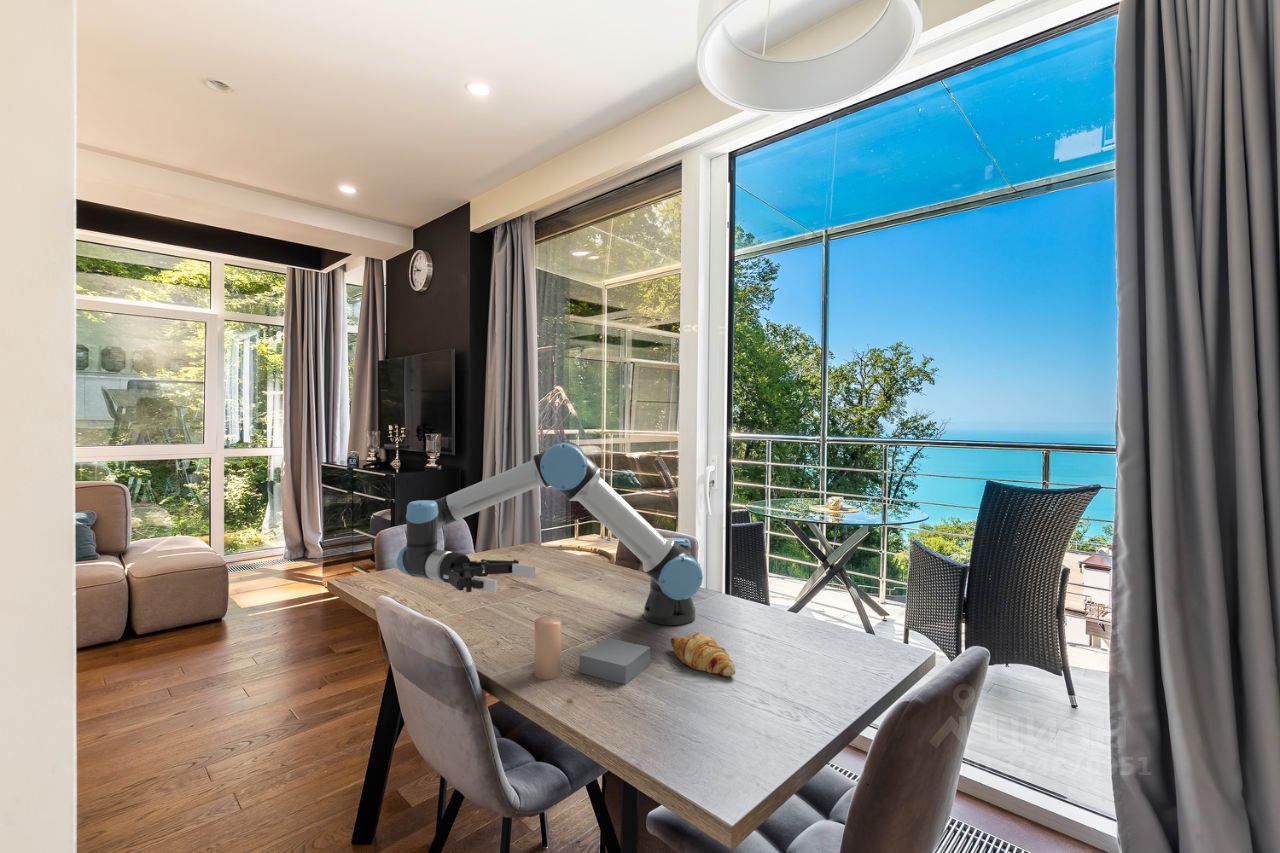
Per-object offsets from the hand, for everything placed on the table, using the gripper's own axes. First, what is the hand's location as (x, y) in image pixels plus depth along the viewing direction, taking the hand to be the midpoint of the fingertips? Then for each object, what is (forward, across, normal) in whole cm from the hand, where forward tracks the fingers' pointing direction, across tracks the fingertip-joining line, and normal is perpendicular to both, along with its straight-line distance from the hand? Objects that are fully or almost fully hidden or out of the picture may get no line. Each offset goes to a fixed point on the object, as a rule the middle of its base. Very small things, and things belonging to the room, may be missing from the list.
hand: (516, 579), depth 135 cm
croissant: (+38, -22, -20) cm, 48 cm away
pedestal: (+21, -10, -20) cm, 31 cm away
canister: (+9, 0, -20) cm, 22 cm away
